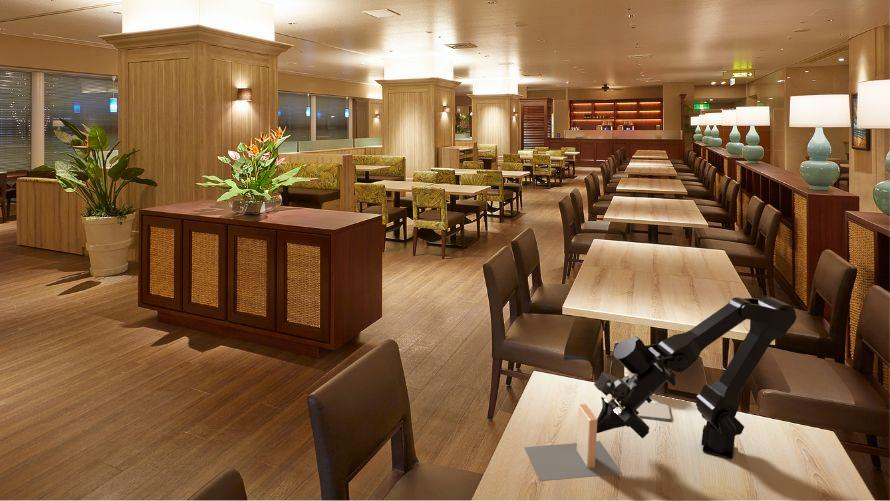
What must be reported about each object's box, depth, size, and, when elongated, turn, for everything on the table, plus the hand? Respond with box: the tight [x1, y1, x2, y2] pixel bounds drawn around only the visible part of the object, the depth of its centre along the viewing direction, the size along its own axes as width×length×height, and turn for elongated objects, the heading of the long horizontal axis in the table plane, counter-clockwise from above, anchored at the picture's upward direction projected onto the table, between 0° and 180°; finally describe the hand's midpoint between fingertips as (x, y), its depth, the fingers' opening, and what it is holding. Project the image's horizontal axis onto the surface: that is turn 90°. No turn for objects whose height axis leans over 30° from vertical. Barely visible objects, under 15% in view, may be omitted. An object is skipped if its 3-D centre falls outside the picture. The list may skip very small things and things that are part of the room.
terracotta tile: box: [576, 403, 598, 468], centre depth 129 cm, size 2×7×12 cm, turn 7°
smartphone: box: [620, 401, 673, 422], centre depth 153 cm, size 8×1×15 cm
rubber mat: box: [524, 440, 623, 482], centre depth 130 cm, size 19×13×1 cm
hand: (593, 431), depth 129 cm, fingers closed
